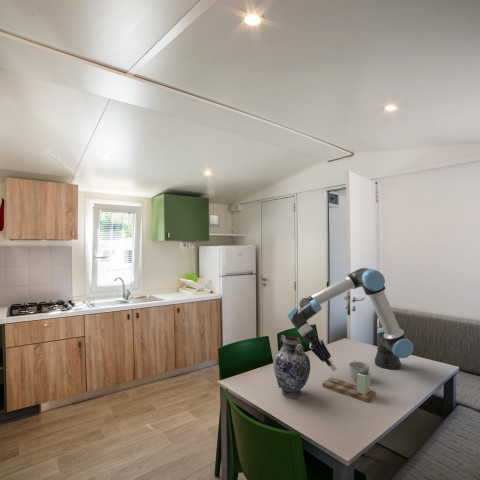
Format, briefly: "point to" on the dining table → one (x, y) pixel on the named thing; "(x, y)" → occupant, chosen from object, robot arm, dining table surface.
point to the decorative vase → (291, 367)
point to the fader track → (348, 389)
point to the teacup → (357, 368)
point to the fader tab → (363, 381)
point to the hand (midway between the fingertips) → (335, 370)
